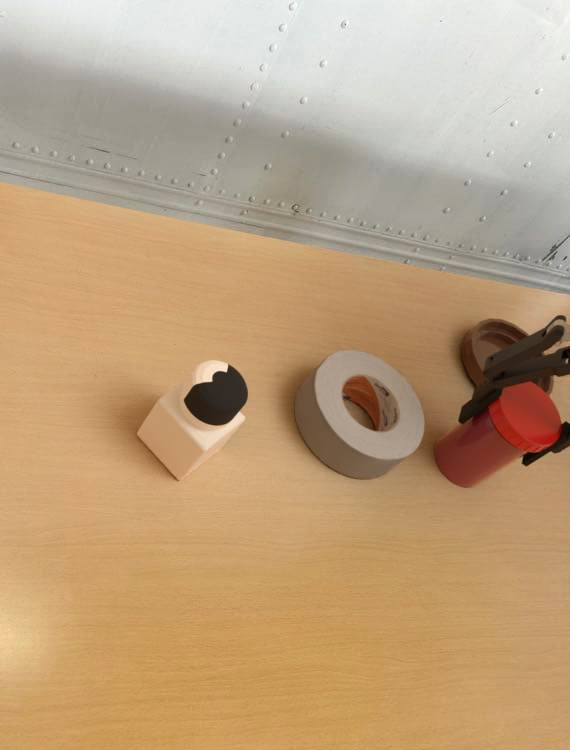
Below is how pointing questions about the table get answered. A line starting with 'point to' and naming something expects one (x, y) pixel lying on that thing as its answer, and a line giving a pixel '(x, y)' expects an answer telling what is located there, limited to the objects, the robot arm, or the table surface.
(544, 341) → the robot arm
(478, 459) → the jam jar
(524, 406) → the lid
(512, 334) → the dish
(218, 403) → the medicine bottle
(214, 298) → the table surface
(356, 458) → the tape roll
